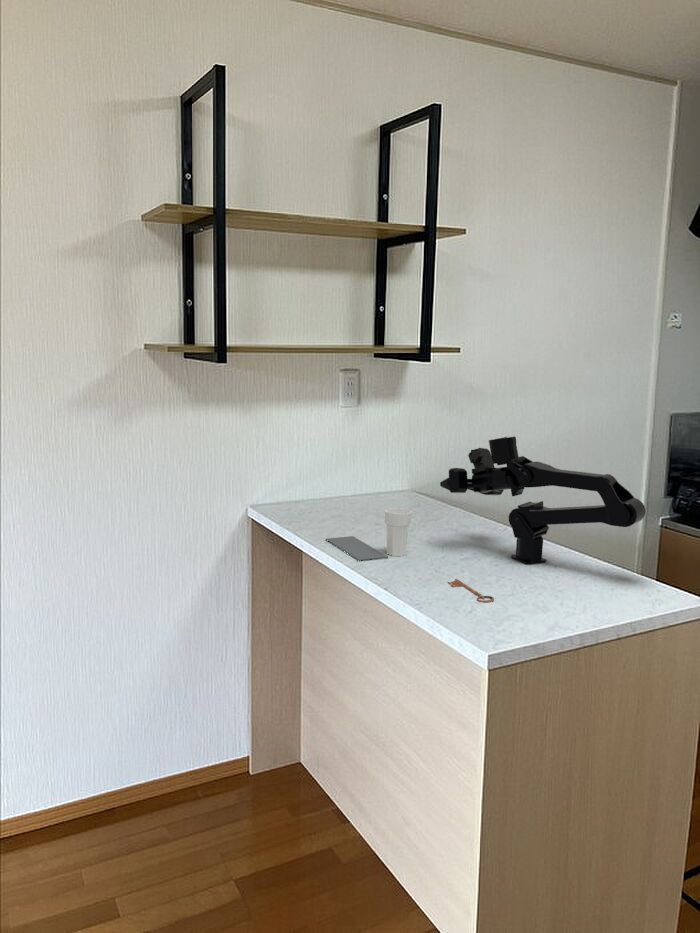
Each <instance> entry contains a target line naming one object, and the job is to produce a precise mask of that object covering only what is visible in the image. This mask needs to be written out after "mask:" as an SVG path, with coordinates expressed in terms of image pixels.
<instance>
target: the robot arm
mask: <svg viewBox="0 0 700 933" xmlns="http://www.w3.org/2000/svg"><path fill="white" fill-rule="evenodd" d="M488 444H489V449H488V448H484V447H478V448H475V449H471V450H470V452H469V453H468V455H467V456H468V459H469V462H470V463H471V464H472V466H473V467H474V468H471V474H472V476H471V478H468V471H467V470H466V469H465V468H460V467H459V468H458V467H453V468H449V469H448V477H447V478H445V479H443V480H442V481H440V482H439V483H440V484H439V486H440V487H441V488H444V489H446V490H448V491H449V492H450V493H451V494H464V493H465V494H466V492H467V491H468V490H469V491H471V492H474V493H478V494H481V495H485V496H501V495H502V494H503V492H504V490H510V492H511V497H517V496H521V495H522V494H523V493H524V490H525V488H542V487H551V486H552V487H559V488H560V487H562V488H566V489H567V488H569V489H576V490H583V491H591V492H597V493H598V494H599V496H600V498H601V500H602V502H603V505H585V506H566V507H563V506H562V507H550V508H549V507H547V506H544V501H543V500H541V501H538V502H533V501H527V502H525V503H522V504H519V505H517V508H514V509H511V511H510V512H509V514H508V522H509V525H510V526H511V529H512V533H513V537H514V538H516V542H515V543H516V545H515V554H511V556H510V557H511V559H513V560H517V561H518V562H521V563H523V564H526V565H529V564H537V563H538V564H540V563H546V562H547V559H545V558H543V549H544V548H543V546H544V538H543V536H544V535H545V536H546V535H547V533H548V531H549V529H550V527H549V526H548V525H551V526H552V525H572V524H573V525H574V524H591V523H593V524H595V523H596V524H597V523H602V524H606V525H609V526H613V527H619V528H627V527H631V526H632V525H635V524H637V523H638V522H640V521H642V520H643V519H644V517H645V515H646V507H645V505H644V503H643V502H642V501H641V500H640V499H639V498H636V497H635V496H634V495H633V494H632V493H631V492H630V490H628V489H626V487H625V486H623V485H622V484H621V483H620V482H618V480H617V479H616V477H614V476H613V475H612V474H609V473H607V474H603V473H602V474H600V473H594V472H593V473H592V472H583V471H576V470H568V469H567V470H566V469H559V468H556V467H554V466H552V465H550V464H547V463H544V462H541V461H533V460H531V459H529V458H527V457H525V456H524V455H522V456H519V453H518V447H517V437H516V436H505V437H500V438H494V439H493V438H492V439H489V440H488ZM495 464H496V465H497V466H499V467H495ZM503 465H504V466H503ZM500 466H501V467H500Z"/></svg>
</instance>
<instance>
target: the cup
mask: <svg viewBox="0 0 700 933" xmlns="http://www.w3.org/2000/svg"><path fill="white" fill-rule="evenodd" d="M412 512H413V511H412V510H410V509H407V508H401V507H390V508H387V509H385V510H384V523H385V525H386V555H388V554H389V555H388V556H391V555H392V556H391V557H404V556H406V555H407V546H408V538H409V530H410V529H409V528H410V527H409V526H410V525H411V522H412ZM403 555H404V556H403Z"/></svg>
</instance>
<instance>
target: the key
mask: <svg viewBox="0 0 700 933" xmlns="http://www.w3.org/2000/svg"><path fill="white" fill-rule="evenodd" d="M446 583H447V585H449V586H450V587H451V588H464V589H466V590H468V591H469V592H470V593H472V595H475V596H476V597H477V598H476V602H478V603H483V604H484V603H486V604H487V603H488V604H489V603H492V602H493V601H494V600H495V598H494V597H493V596H491V595H490V596H489V595H482V594H481V593H480V592H478V591H477V590H474V589H473V588H472V587H470V586H469V585H467V584H465V583H464V582H463V581H461V580H459V579H458V578H455V579H454V580H452V581H448V582H446ZM485 599H486V600H485Z"/></svg>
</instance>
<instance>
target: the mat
mask: <svg viewBox="0 0 700 933" xmlns="http://www.w3.org/2000/svg"><path fill="white" fill-rule="evenodd" d="M326 540H328V541H329V542H330V543H329V542H328V541H327V542H328V543H329V544H331V543H332V544H331V545H333V546H334V545H335V546H334V547H336V546H337V547H338V548H337V547H336V548H337V549H339V548H340V549H342V550H343V551H342V550H341V551H342V552H344V551H345V552H346V553H345V552H344V553H345V554H347V553H348V554H349V555H348V554H347V555H348V556H350V555H351V556H352V558H353V557H354V558H353V559H355V558H356V559H357V560H356V559H355V560H356V561H358V560H359V561H358V562H361V561H360V560H366V561H371V560H370V559H376V560H381V559H380V558H385V559H389V555H387V554H384V553H383V552H381V551H379V550H378V549H375V547H373V546H370V545H369V544H367V543H366V542H364V541H362V540H361V539H358V538H357V537H355V536H353V535H350V536H337V537H328V538H325V541H326ZM340 549H339V550H340ZM351 556H350V557H351Z"/></svg>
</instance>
